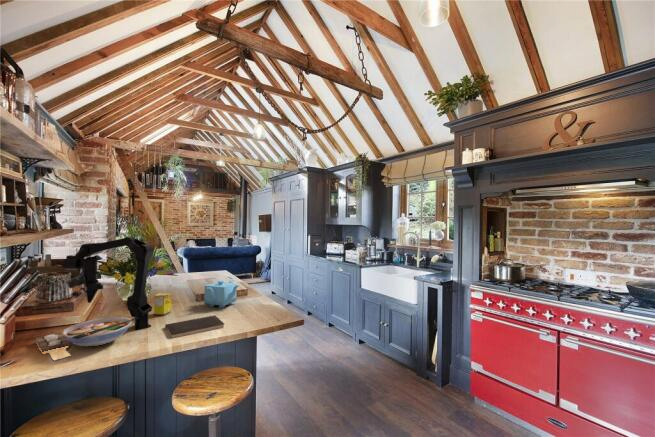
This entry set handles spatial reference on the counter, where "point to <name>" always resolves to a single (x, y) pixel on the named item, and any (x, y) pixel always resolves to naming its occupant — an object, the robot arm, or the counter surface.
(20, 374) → the counter surface
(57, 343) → the button
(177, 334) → the hardcover book
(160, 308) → the supplement box
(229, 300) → the teakettle
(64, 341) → the button board
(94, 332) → the ramen bowl
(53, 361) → the counter surface
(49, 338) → the button
